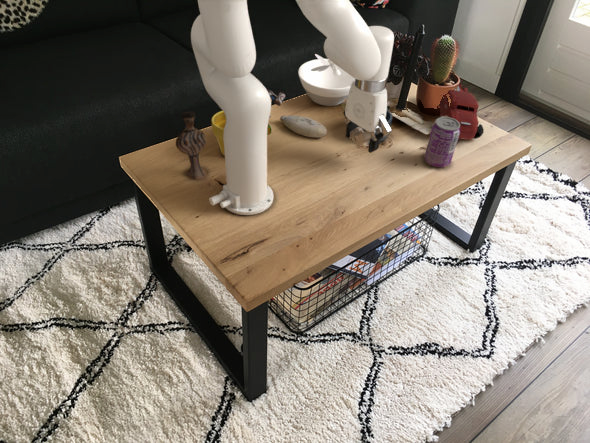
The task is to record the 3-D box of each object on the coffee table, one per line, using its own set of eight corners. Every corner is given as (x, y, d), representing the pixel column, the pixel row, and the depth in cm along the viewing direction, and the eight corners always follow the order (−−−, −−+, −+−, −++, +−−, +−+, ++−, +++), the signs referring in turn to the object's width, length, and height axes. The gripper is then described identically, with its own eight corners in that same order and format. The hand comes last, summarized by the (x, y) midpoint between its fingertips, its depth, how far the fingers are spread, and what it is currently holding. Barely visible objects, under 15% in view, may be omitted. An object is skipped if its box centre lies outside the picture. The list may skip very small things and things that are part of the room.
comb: (424, 139, 142) (444, 133, 148) (428, 131, 141) (447, 126, 147) (386, 116, 150) (405, 111, 156) (388, 108, 148) (408, 104, 155)
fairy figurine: (344, 68, 148) (335, 51, 151) (323, 70, 146) (314, 53, 149) (338, 83, 153) (330, 66, 156) (318, 85, 151) (309, 69, 154)
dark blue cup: (368, 148, 139) (372, 130, 135) (340, 130, 145) (342, 112, 141) (397, 135, 145) (400, 116, 141) (368, 117, 151) (371, 99, 147)
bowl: (313, 76, 168) (315, 53, 163) (367, 92, 162) (371, 68, 157) (286, 102, 156) (287, 77, 150) (343, 120, 150) (346, 95, 144)
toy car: (463, 101, 162) (476, 72, 155) (483, 150, 141) (499, 119, 135) (419, 93, 161) (430, 64, 154) (433, 142, 140) (446, 110, 133)
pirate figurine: (220, 99, 132) (255, 63, 137) (227, 128, 143) (260, 93, 148) (262, 124, 128) (296, 86, 133) (266, 151, 140) (297, 115, 145)
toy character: (367, 149, 134) (355, 130, 135) (379, 138, 127) (366, 118, 127) (355, 156, 133) (343, 137, 133) (366, 145, 125) (353, 125, 126)
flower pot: (240, 135, 141) (239, 104, 134) (259, 154, 135) (259, 122, 128) (207, 146, 136) (204, 115, 130) (225, 166, 130) (223, 134, 124)
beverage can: (448, 154, 138) (460, 116, 130) (451, 170, 133) (464, 131, 125) (422, 152, 139) (432, 114, 131) (425, 167, 134) (435, 129, 125)
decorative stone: (285, 117, 149) (285, 107, 147) (331, 133, 144) (332, 123, 142) (274, 127, 145) (274, 117, 143) (321, 143, 140) (322, 133, 138)
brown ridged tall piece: (182, 182, 125) (173, 119, 113) (178, 170, 129) (168, 108, 116) (211, 176, 127) (205, 114, 115) (206, 165, 131) (200, 103, 118)
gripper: (334, 71, 122) (328, 133, 134) (386, 101, 113) (375, 164, 125) (356, 63, 126) (348, 124, 138) (409, 91, 116) (396, 153, 128)
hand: (361, 142), depth 131 cm, fingers closed on toy character, 7 cm apart
